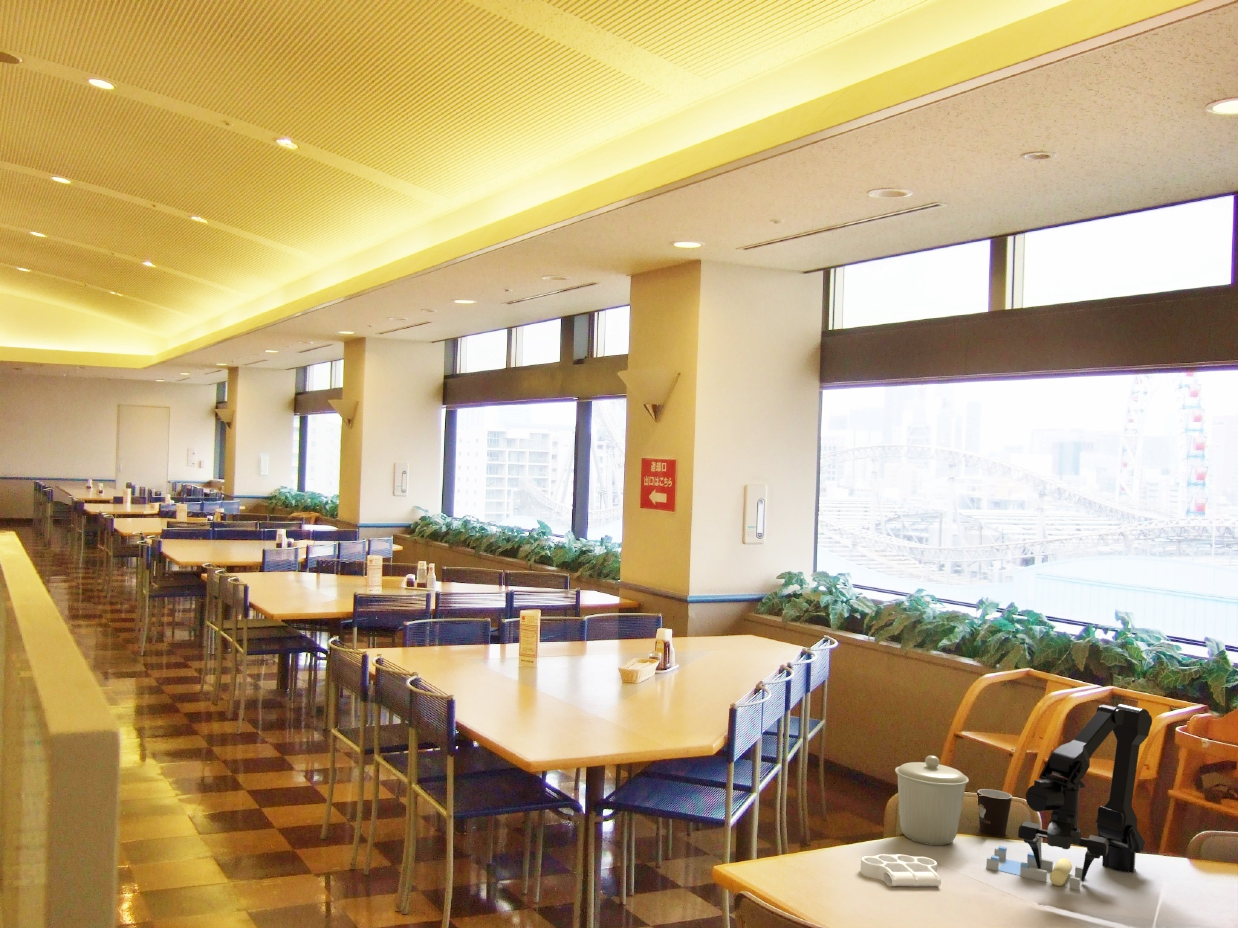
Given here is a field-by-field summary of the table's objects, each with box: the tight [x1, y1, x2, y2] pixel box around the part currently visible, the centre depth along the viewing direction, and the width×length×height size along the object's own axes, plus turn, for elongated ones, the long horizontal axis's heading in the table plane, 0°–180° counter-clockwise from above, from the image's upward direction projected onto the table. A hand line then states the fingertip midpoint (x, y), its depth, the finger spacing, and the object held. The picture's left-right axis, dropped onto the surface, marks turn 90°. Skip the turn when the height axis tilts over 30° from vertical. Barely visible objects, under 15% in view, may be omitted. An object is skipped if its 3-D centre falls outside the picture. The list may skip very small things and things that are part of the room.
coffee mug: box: [976, 788, 1013, 837], centre depth 276 cm, size 12×9×10 cm
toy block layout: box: [985, 845, 1084, 891], centre depth 241 cm, size 20×10×4 cm, turn 59°
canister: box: [894, 755, 970, 846], centre depth 265 cm, size 18×18×21 cm
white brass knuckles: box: [859, 853, 942, 888], centre depth 236 cm, size 3×18×15 cm
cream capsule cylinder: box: [1050, 857, 1073, 887], centre depth 238 cm, size 13×3×3 cm, turn 149°
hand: (1060, 875), depth 238 cm, fingers open, 9 cm apart
